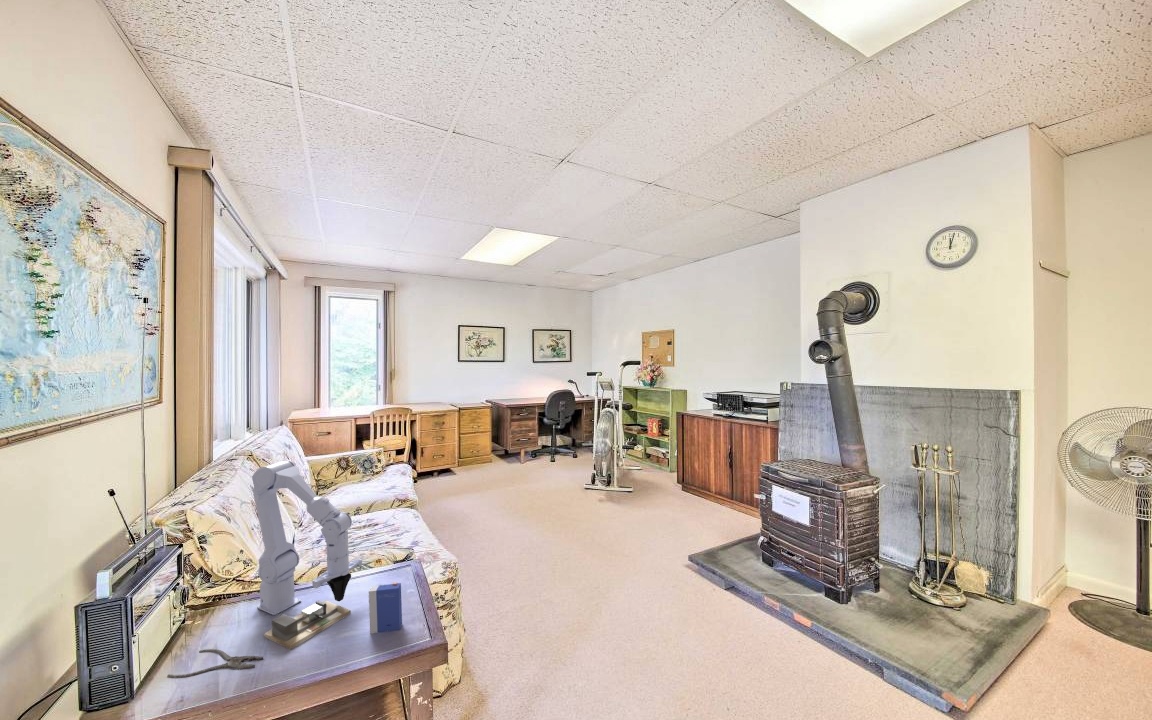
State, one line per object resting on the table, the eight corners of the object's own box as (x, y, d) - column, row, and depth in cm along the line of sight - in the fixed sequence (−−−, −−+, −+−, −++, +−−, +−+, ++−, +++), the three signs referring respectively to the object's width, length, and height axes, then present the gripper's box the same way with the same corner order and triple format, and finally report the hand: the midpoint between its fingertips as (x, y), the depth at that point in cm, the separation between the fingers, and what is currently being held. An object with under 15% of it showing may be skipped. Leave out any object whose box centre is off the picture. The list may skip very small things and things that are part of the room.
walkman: (402, 623, 119) (400, 581, 119) (399, 630, 116) (398, 586, 116) (372, 627, 118) (371, 584, 118) (369, 633, 115) (368, 590, 115)
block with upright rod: (318, 611, 124) (318, 600, 124) (332, 616, 121) (332, 605, 121) (301, 620, 120) (301, 609, 120) (315, 626, 117) (315, 615, 117)
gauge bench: (325, 603, 130) (325, 587, 130) (350, 613, 125) (350, 596, 125) (264, 636, 115) (264, 618, 115) (290, 649, 110) (289, 630, 110)
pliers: (192, 650, 110) (277, 639, 113) (193, 653, 110) (277, 642, 113) (163, 678, 100) (256, 665, 103) (163, 681, 100) (256, 668, 103)
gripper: (322, 568, 119) (323, 616, 120) (367, 547, 132) (369, 590, 132) (307, 563, 123) (308, 610, 123) (353, 543, 136) (354, 585, 136)
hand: (339, 599), depth 128 cm, fingers closed
